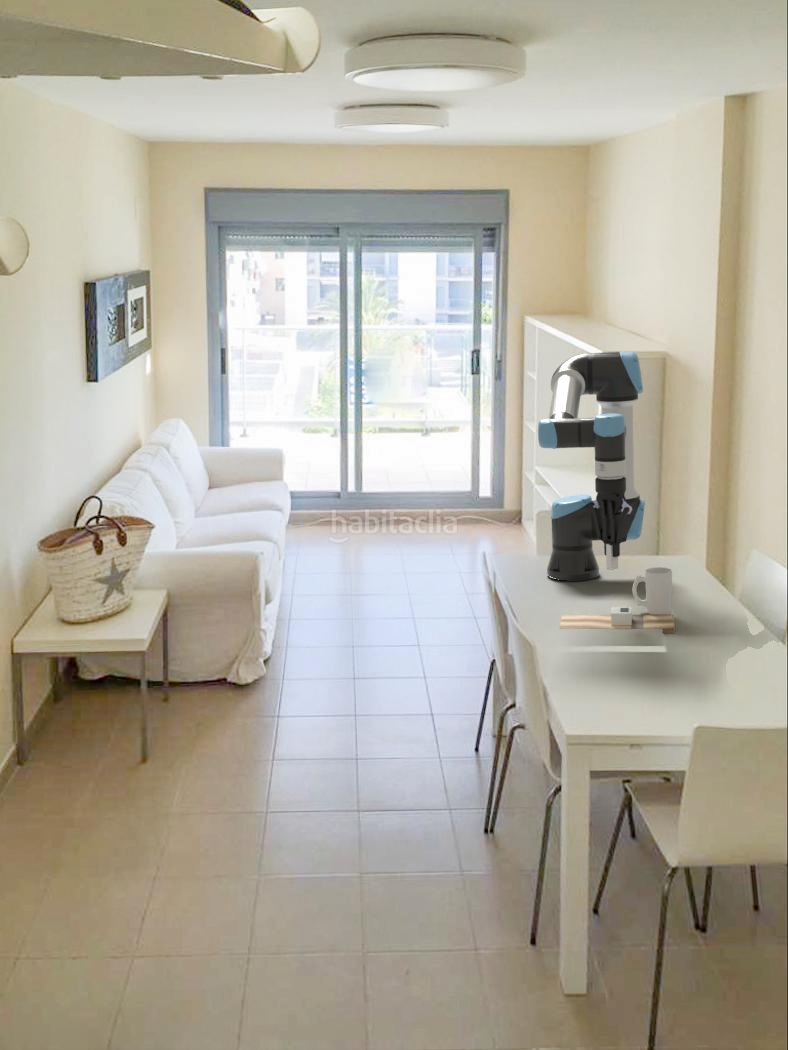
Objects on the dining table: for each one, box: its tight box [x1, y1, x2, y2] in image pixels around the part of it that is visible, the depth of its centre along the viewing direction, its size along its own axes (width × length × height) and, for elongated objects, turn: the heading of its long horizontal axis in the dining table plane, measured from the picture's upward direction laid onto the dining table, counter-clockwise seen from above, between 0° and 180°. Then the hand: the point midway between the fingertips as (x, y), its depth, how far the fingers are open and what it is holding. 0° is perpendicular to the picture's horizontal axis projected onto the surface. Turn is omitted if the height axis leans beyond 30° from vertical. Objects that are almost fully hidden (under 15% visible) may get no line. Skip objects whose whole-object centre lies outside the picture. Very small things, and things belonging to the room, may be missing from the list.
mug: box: [631, 566, 673, 615], centre depth 320 cm, size 10×7×12 cm, turn 84°
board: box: [559, 614, 676, 634], centre depth 314 cm, size 12×28×1 cm, turn 80°
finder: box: [610, 606, 633, 625], centre depth 314 cm, size 6×5×3 cm
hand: (612, 568), depth 315 cm, fingers closed
